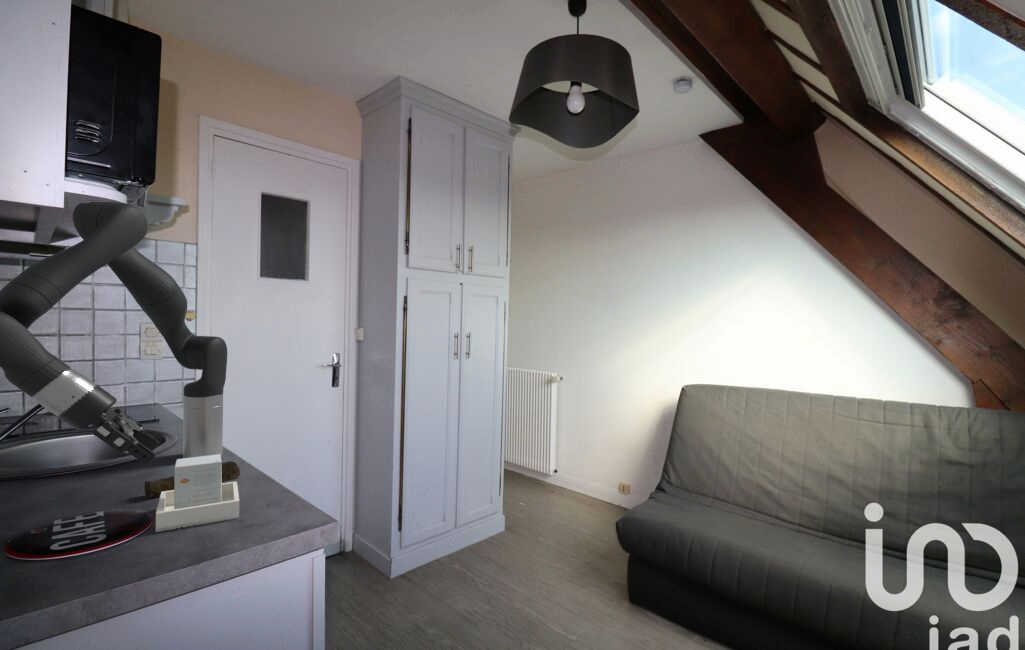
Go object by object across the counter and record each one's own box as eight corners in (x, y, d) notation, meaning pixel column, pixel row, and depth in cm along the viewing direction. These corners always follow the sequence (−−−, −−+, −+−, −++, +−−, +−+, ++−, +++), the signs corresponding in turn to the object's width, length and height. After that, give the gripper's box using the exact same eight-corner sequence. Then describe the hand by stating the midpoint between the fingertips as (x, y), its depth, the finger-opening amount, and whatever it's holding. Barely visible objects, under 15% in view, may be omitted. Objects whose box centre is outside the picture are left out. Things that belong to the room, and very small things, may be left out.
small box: (221, 502, 104) (221, 453, 103) (221, 512, 99) (222, 461, 99) (175, 509, 100) (176, 458, 99) (173, 520, 95) (174, 466, 94)
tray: (161, 508, 101) (161, 491, 101) (236, 496, 108) (236, 481, 108) (155, 532, 91) (155, 513, 91) (239, 517, 98) (239, 500, 98)
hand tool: (147, 502, 104) (147, 480, 104) (143, 496, 107) (143, 475, 107) (243, 481, 118) (243, 462, 118) (237, 477, 121) (237, 458, 121)
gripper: (87, 390, 84) (168, 448, 90) (102, 378, 96) (172, 430, 102) (45, 423, 81) (131, 480, 88) (66, 407, 93) (140, 458, 100)
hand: (153, 453), depth 95 cm, fingers open, 8 cm apart
